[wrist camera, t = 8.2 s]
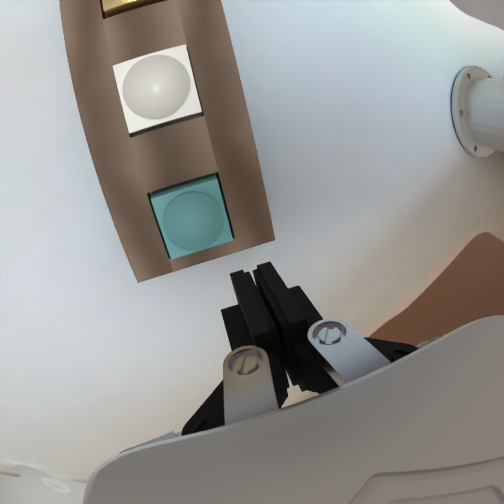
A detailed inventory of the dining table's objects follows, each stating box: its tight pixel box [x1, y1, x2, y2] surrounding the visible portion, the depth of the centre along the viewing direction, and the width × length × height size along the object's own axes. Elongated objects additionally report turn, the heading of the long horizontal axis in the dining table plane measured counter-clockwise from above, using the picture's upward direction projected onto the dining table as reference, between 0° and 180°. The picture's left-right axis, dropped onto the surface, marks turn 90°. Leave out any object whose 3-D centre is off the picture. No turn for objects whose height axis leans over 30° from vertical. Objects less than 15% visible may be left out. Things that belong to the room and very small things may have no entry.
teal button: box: [151, 173, 233, 260], centre depth 24 cm, size 5×5×4 cm
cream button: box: [113, 44, 202, 133], centre depth 19 cm, size 5×5×4 cm
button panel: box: [59, 0, 275, 283], centre depth 21 cm, size 12×28×3 cm, turn 13°
